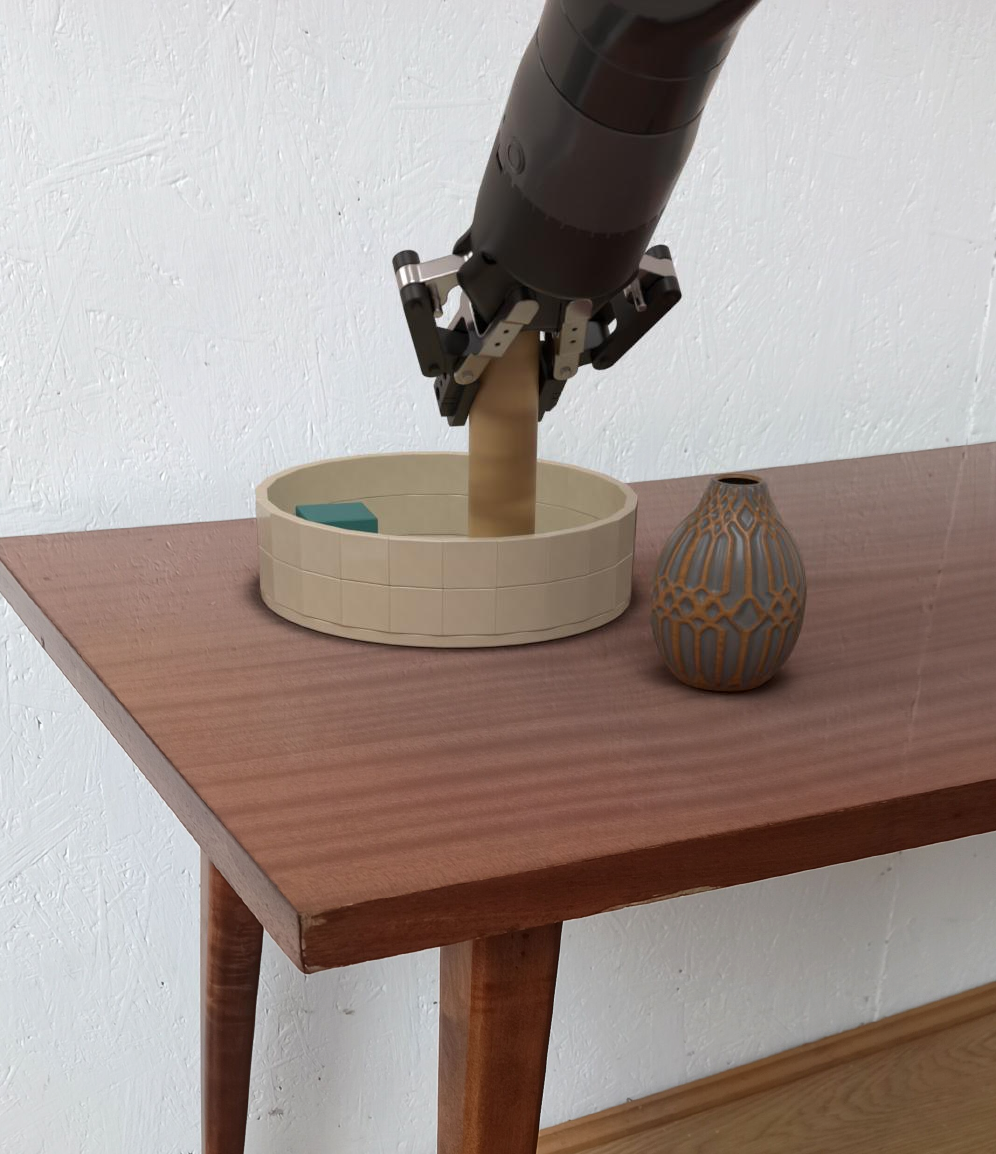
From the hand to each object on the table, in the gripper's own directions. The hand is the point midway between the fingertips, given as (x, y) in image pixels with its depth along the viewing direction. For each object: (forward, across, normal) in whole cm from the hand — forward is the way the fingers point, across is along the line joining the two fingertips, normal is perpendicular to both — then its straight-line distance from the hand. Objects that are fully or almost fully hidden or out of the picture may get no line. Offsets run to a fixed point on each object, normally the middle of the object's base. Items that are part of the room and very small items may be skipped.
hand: (489, 407), depth 86 cm
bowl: (+6, +2, +6) cm, 9 cm away
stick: (+3, 0, +6) cm, 7 cm away
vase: (-6, -6, +18) cm, 20 cm away
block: (+6, +8, +5) cm, 11 cm away
